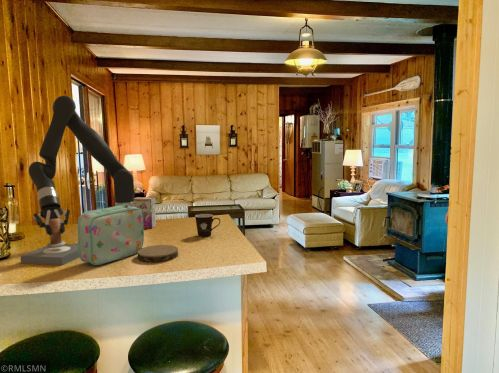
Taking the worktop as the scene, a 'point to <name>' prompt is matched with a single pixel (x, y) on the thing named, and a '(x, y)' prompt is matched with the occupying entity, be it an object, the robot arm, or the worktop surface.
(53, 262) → the plate
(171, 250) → the wood slice
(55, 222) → the handle
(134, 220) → the lunch box
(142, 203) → the candy bar box
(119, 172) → the robot arm
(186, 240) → the worktop surface
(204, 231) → the coffee mug
